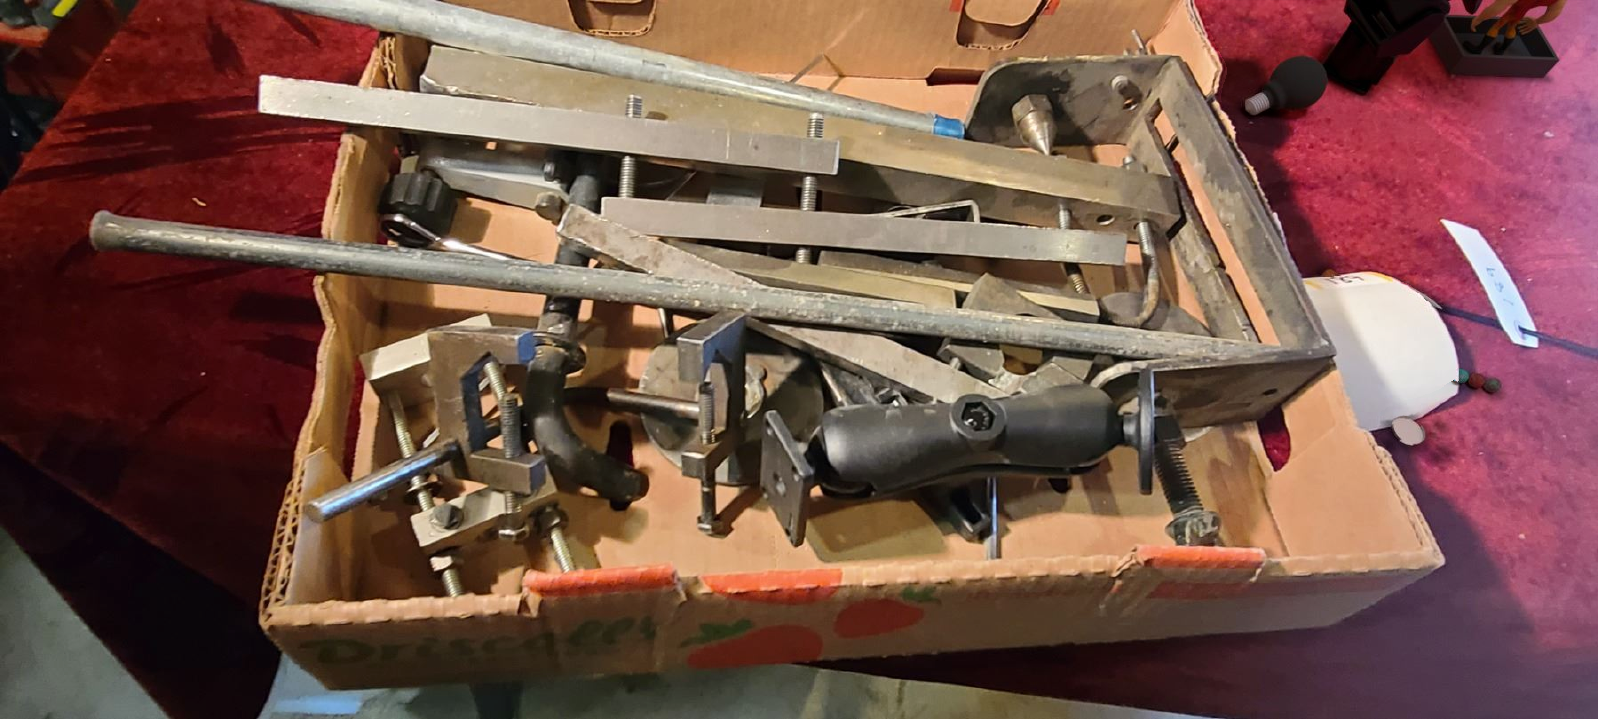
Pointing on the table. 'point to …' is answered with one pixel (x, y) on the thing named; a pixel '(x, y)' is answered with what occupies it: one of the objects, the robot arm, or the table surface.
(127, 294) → the table surface
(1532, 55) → the tray
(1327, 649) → the table surface
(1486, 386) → the beads
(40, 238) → the table surface
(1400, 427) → the grey flat disc
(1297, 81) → the light bulb
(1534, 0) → the action figure
